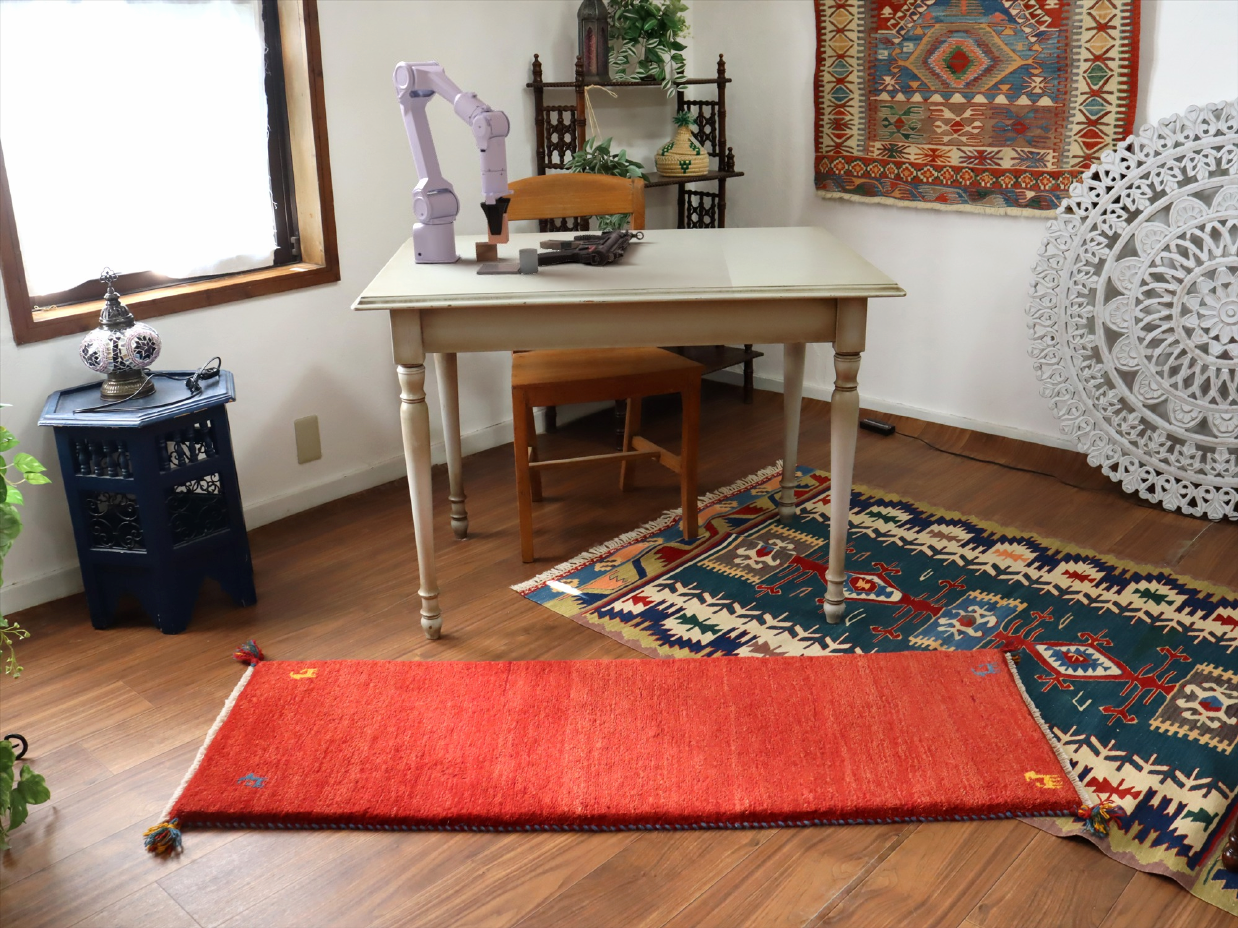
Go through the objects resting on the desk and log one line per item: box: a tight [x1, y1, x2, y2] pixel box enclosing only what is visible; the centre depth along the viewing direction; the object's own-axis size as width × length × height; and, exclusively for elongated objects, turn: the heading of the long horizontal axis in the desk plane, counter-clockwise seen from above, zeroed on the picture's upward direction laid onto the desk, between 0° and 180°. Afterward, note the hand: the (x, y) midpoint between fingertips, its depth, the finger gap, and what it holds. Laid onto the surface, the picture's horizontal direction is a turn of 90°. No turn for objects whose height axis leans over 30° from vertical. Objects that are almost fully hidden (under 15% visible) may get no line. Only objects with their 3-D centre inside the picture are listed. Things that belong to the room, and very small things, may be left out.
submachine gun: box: [537, 228, 645, 267], centre depth 254 cm, size 33×4×25 cm
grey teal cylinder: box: [518, 247, 539, 275], centre depth 234 cm, size 4×4×5 cm
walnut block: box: [474, 241, 499, 263], centre depth 249 cm, size 5×4×4 cm
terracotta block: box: [487, 213, 510, 245], centre depth 234 cm, size 4×4×6 cm
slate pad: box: [476, 262, 520, 275], centre depth 237 cm, size 9×9×1 cm
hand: (497, 233), depth 235 cm, fingers closed on terracotta block, 4 cm apart
